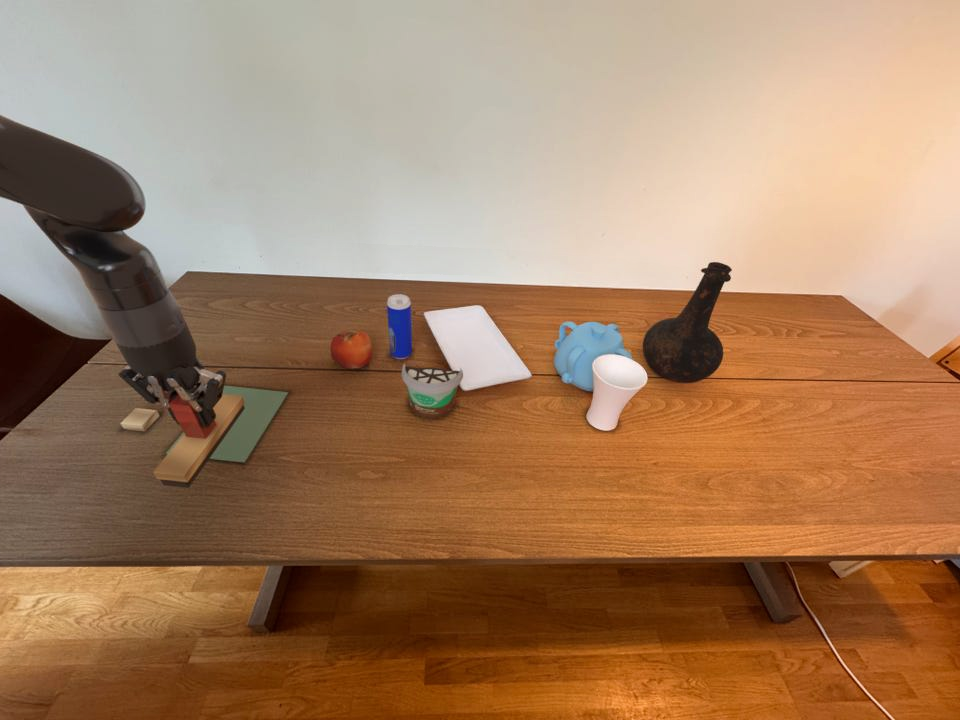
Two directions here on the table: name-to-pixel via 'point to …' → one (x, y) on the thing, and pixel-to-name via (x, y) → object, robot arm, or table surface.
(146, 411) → the chip
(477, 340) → the tray
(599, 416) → the cup
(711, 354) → the glass bottle
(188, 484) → the brush
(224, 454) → the mat
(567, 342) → the decorative pot
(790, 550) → the table surface
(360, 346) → the tomato
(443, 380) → the food container
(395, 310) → the beverage can
